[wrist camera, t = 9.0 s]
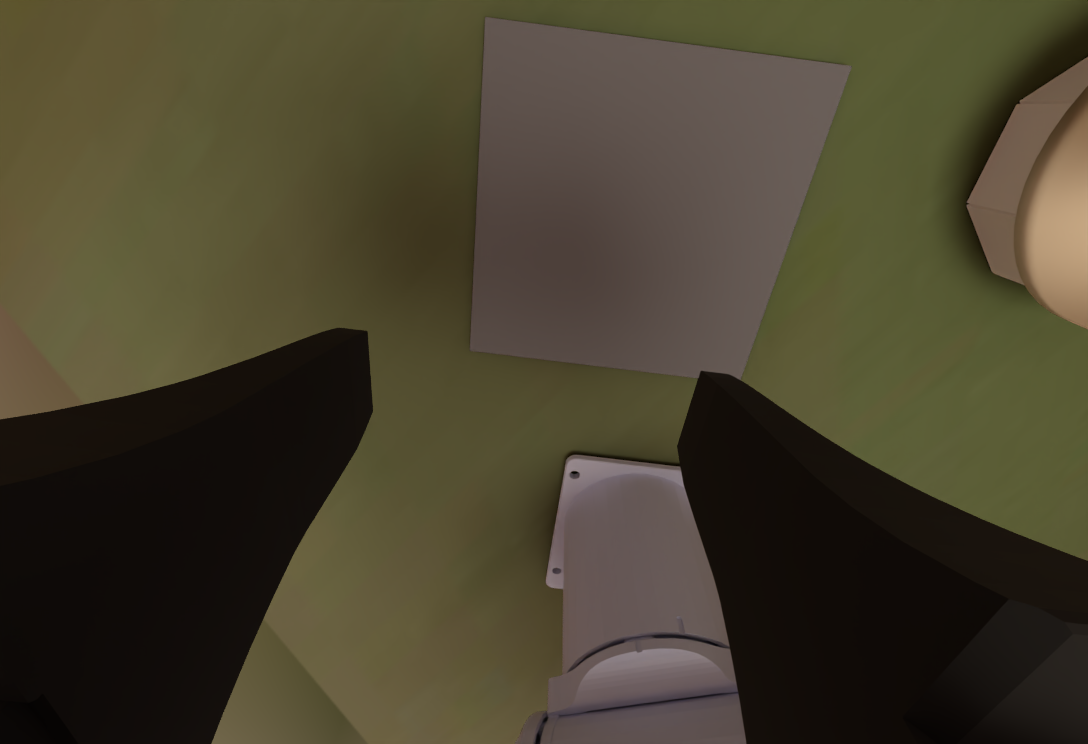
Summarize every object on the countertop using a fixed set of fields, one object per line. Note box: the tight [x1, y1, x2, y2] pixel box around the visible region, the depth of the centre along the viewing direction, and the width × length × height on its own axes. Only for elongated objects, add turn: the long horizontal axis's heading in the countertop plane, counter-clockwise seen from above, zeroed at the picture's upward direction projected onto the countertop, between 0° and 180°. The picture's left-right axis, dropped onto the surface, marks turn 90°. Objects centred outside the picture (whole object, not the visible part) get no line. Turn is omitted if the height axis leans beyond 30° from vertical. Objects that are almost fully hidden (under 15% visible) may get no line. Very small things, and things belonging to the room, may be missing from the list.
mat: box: [470, 17, 852, 380], centre depth 19 cm, size 12×12×1 cm
